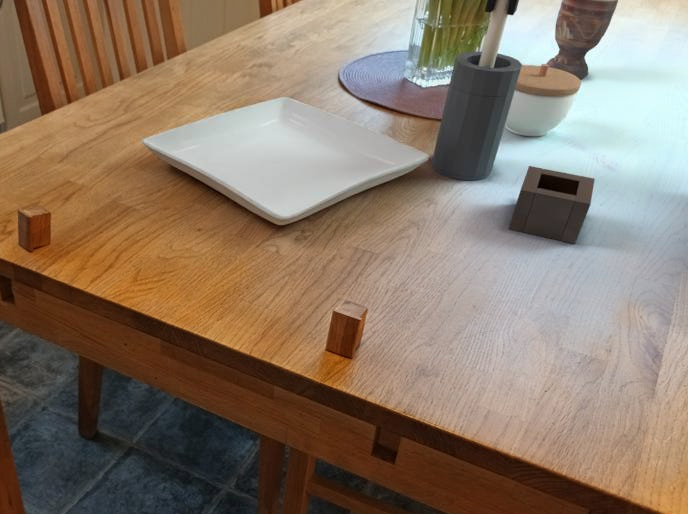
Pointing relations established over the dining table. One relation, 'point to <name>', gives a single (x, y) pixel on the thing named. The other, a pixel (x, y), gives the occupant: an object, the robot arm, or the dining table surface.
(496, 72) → the dark grey cylindrical container
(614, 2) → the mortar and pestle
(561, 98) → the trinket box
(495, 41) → the brush
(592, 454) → the dining table surface
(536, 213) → the holder
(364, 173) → the square plate
